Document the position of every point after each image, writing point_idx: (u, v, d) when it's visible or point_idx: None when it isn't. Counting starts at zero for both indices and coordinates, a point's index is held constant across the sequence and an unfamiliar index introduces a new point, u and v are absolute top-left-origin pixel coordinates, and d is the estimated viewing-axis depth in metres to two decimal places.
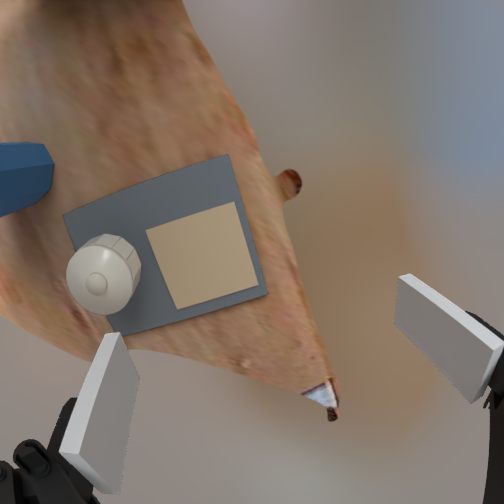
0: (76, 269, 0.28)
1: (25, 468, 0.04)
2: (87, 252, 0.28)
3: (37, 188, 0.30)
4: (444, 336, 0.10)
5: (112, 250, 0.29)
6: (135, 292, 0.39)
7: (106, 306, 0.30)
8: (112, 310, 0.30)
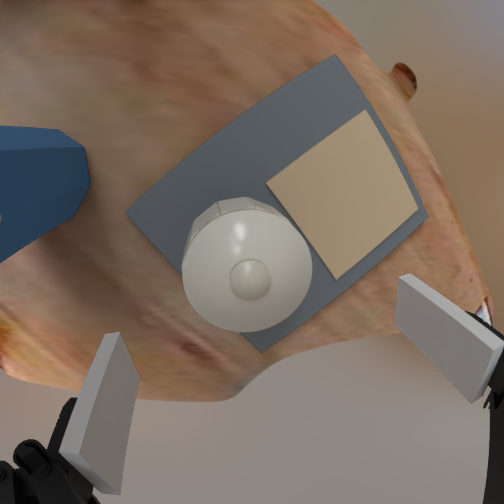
0: (202, 270, 0.17)
1: (25, 468, 0.04)
2: (216, 230, 0.17)
3: (72, 184, 0.20)
4: (444, 336, 0.10)
5: (260, 210, 0.17)
6: None
7: (273, 311, 0.19)
8: (284, 313, 0.19)
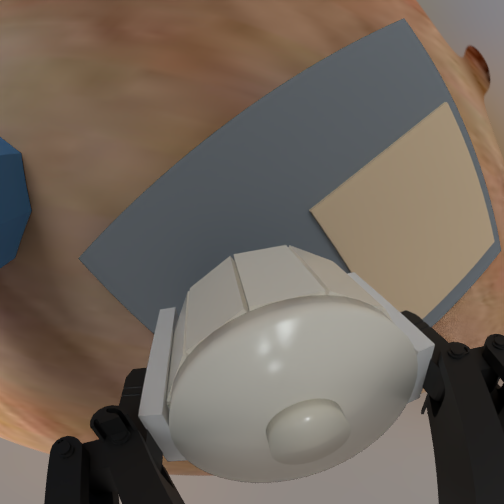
0: (210, 424, 0.07)
1: (101, 434, 0.06)
2: (241, 359, 0.07)
3: None
4: None
5: (342, 303, 0.07)
6: None
7: (336, 454, 0.09)
8: (353, 452, 0.09)
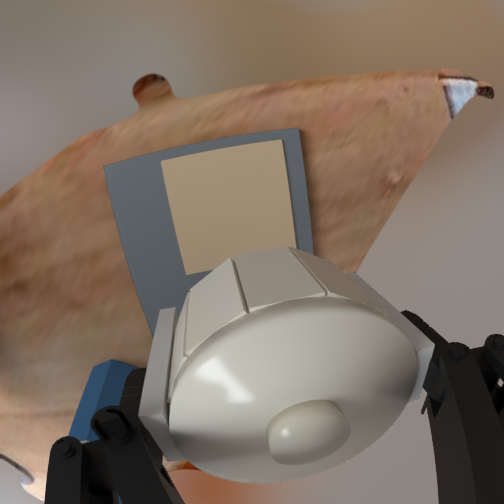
0: (210, 425, 0.07)
1: (101, 434, 0.06)
2: (241, 361, 0.07)
3: None
4: None
5: (342, 304, 0.07)
6: None
7: (335, 455, 0.09)
8: (353, 452, 0.09)
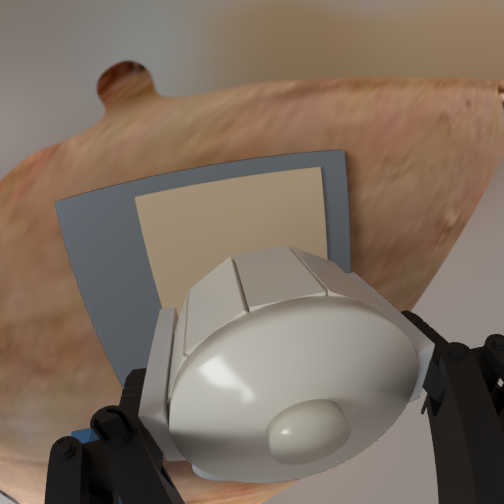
0: (210, 425, 0.07)
1: (101, 434, 0.06)
2: (242, 360, 0.07)
3: None
4: None
5: (342, 303, 0.07)
6: None
7: (336, 454, 0.09)
8: (353, 452, 0.09)
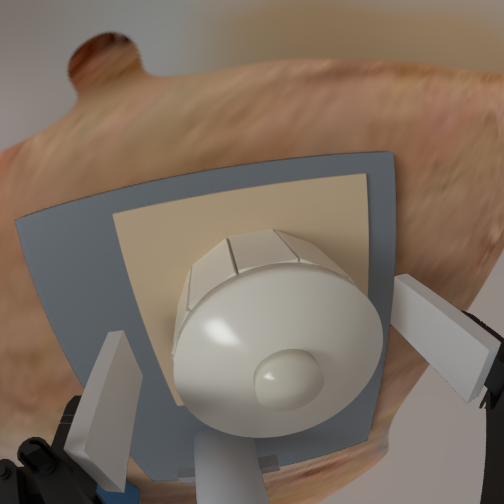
0: (207, 370, 0.10)
1: (29, 466, 0.05)
2: (232, 309, 0.09)
3: None
4: (440, 336, 0.10)
5: (310, 267, 0.10)
6: None
7: (317, 411, 0.11)
8: (332, 410, 0.11)
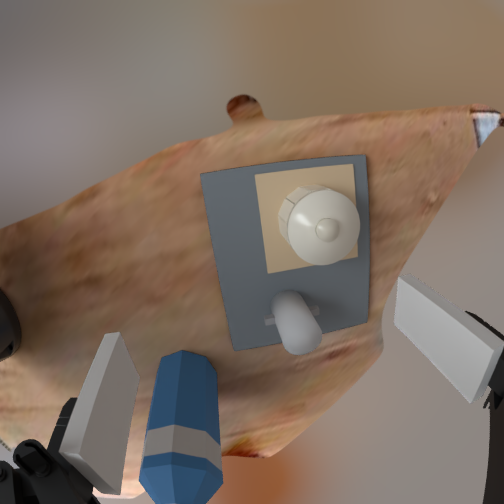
0: (300, 223, 0.30)
1: (25, 468, 0.04)
2: (310, 200, 0.29)
3: (202, 373, 0.37)
4: (444, 336, 0.10)
5: (333, 190, 0.30)
6: (328, 295, 0.39)
7: (337, 251, 0.31)
8: (344, 253, 0.31)
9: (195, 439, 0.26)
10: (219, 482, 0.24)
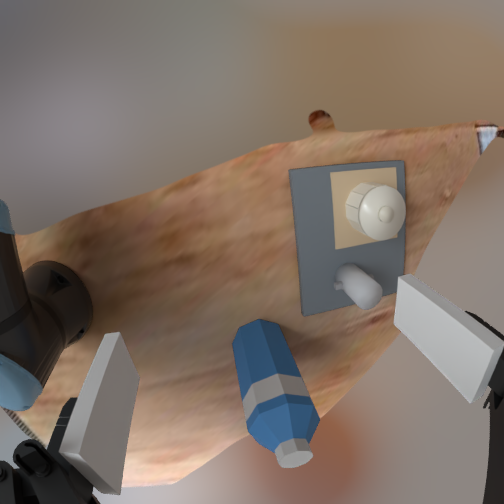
0: (369, 209, 0.39)
1: (25, 468, 0.04)
2: (375, 193, 0.38)
3: (280, 336, 0.46)
4: (444, 336, 0.10)
5: (388, 186, 0.39)
6: (376, 267, 0.48)
7: (391, 230, 0.41)
8: (395, 232, 0.41)
9: (297, 383, 0.35)
10: (318, 418, 0.33)
